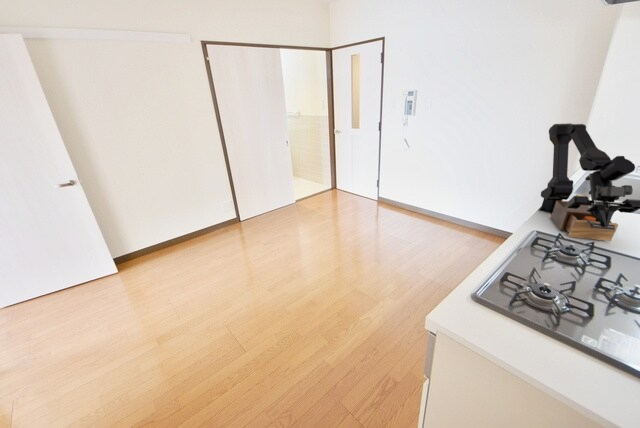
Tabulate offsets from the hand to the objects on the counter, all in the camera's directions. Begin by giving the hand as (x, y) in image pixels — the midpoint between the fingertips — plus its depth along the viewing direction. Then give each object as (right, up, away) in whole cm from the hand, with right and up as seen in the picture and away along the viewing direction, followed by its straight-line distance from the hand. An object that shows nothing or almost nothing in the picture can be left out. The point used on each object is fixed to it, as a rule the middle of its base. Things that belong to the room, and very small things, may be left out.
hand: (605, 226), depth 96 cm
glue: (+4, -2, +12) cm, 12 cm away
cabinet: (+7, -1, +19) cm, 20 cm away
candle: (+14, +3, +27) cm, 30 cm away
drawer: (+3, -4, +11) cm, 12 cm away
